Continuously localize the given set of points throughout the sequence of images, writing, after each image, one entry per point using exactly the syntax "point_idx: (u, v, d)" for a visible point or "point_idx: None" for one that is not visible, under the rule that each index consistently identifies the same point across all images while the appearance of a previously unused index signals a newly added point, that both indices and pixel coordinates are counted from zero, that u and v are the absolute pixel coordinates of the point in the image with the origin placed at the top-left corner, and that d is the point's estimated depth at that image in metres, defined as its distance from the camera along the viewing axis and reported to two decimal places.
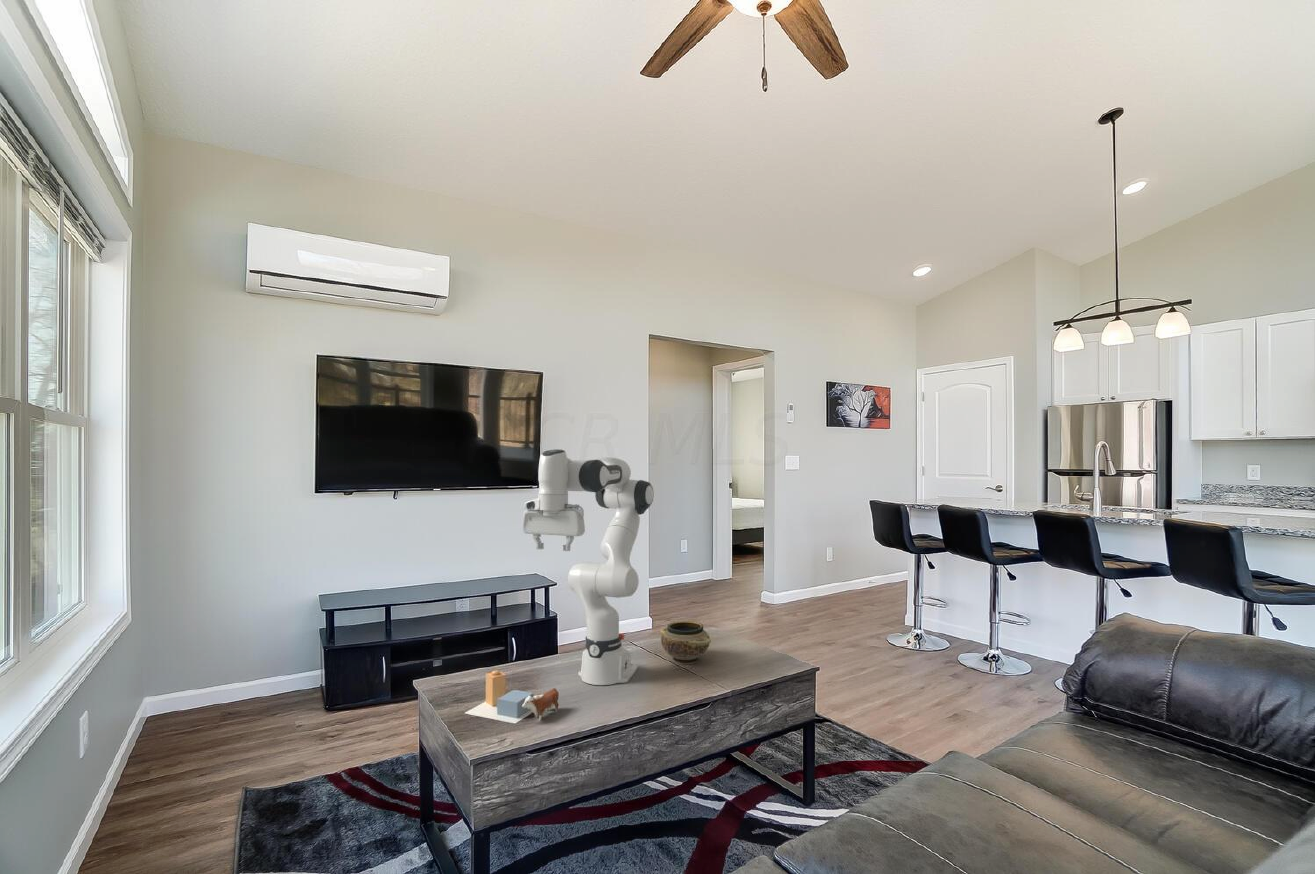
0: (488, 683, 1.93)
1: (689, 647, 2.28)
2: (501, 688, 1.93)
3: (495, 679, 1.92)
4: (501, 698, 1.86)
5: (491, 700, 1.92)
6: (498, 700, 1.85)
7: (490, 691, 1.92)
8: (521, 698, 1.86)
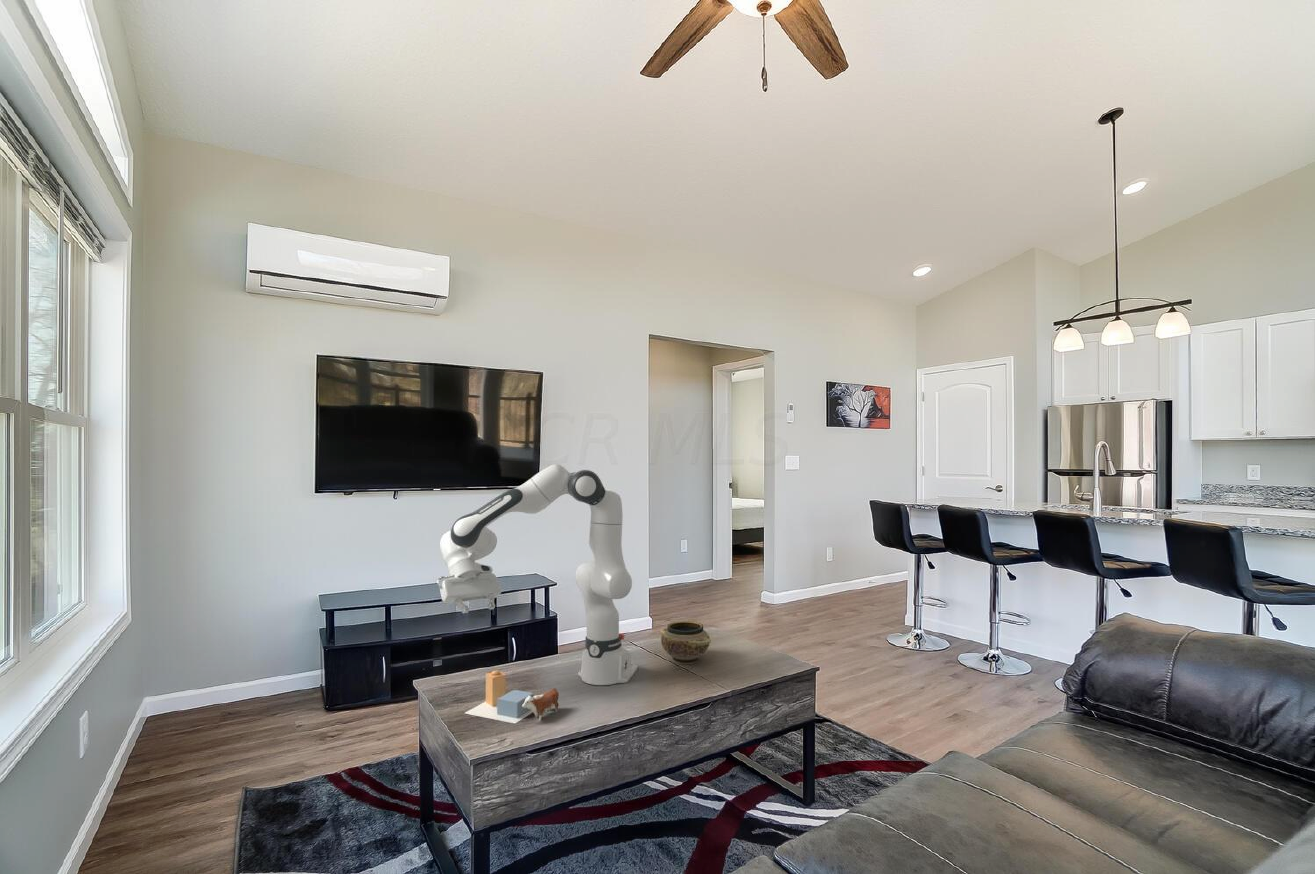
0: (488, 683, 1.93)
1: (689, 647, 2.28)
2: (501, 688, 1.93)
3: (495, 679, 1.92)
4: (501, 698, 1.86)
5: (491, 700, 1.92)
6: (498, 700, 1.85)
7: (490, 691, 1.92)
8: (521, 698, 1.86)
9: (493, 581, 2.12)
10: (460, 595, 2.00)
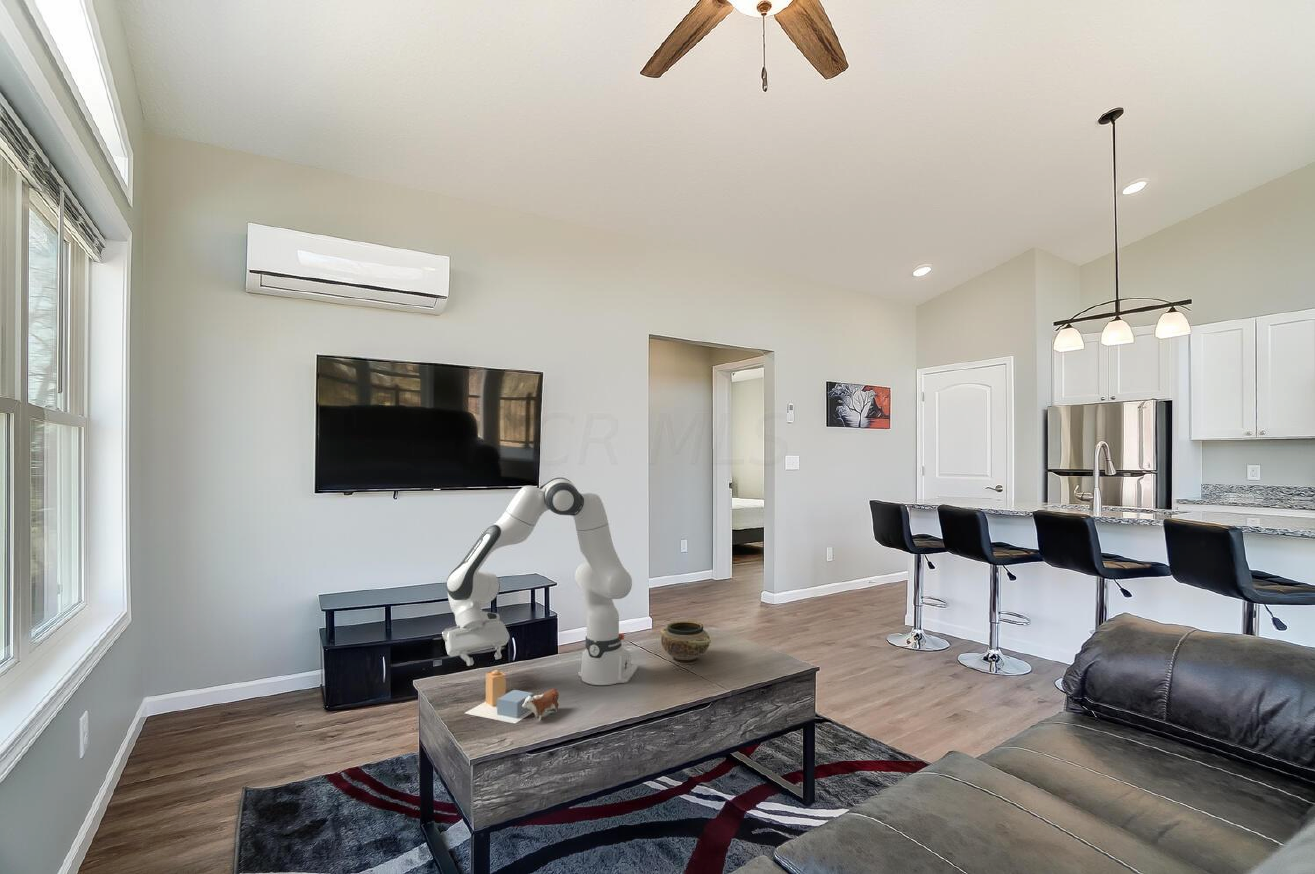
0: (488, 683, 1.93)
1: (689, 647, 2.28)
2: (501, 688, 1.93)
3: (495, 679, 1.92)
4: (501, 698, 1.86)
5: (491, 700, 1.92)
6: (498, 700, 1.85)
7: (490, 691, 1.92)
8: (521, 698, 1.86)
9: (500, 629, 2.09)
10: (464, 647, 1.98)
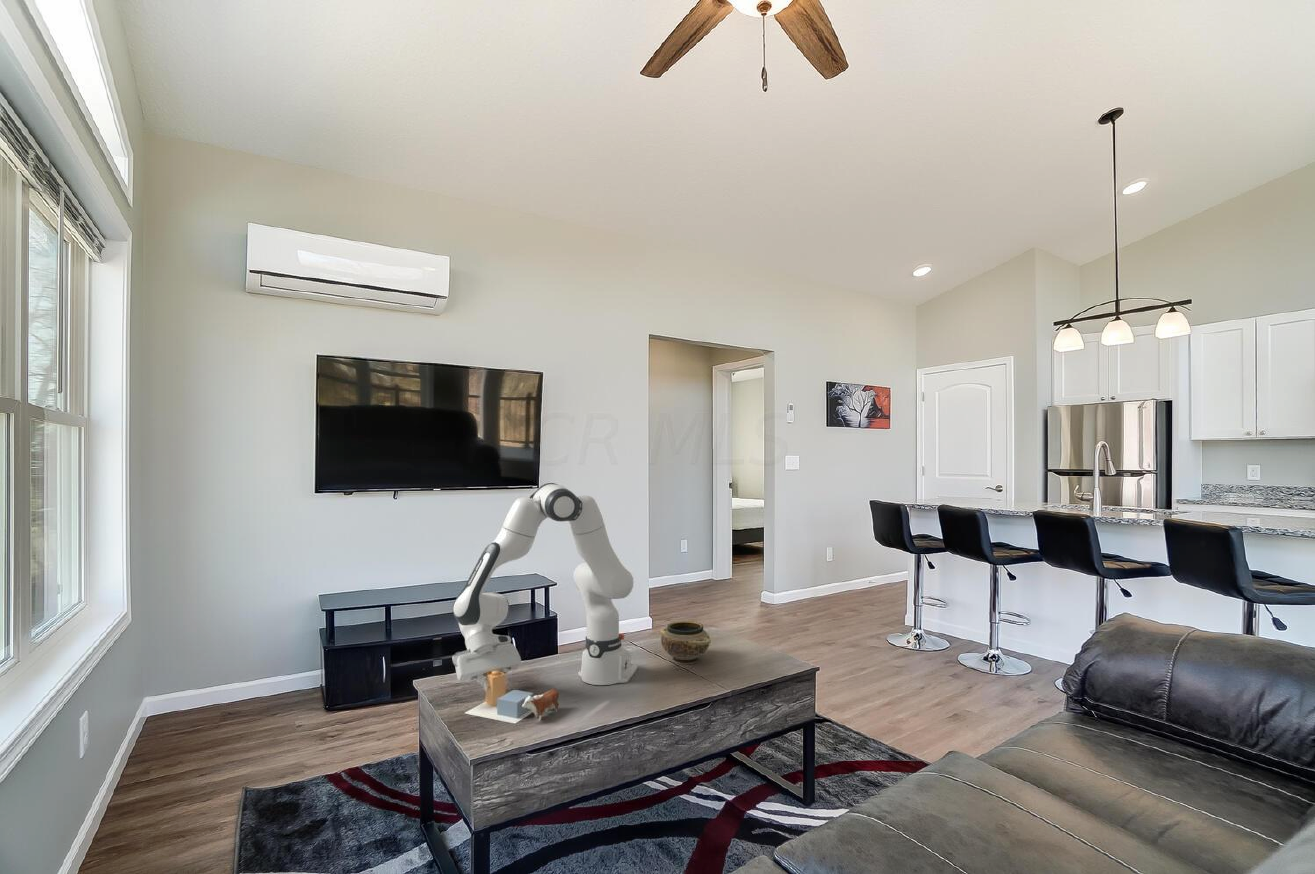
0: None
1: (689, 647, 2.28)
2: (501, 688, 1.93)
3: (495, 679, 1.92)
4: (501, 698, 1.86)
5: (491, 700, 1.92)
6: (498, 700, 1.85)
7: (490, 691, 1.92)
8: (521, 698, 1.86)
9: (512, 653, 2.03)
10: (475, 673, 1.92)
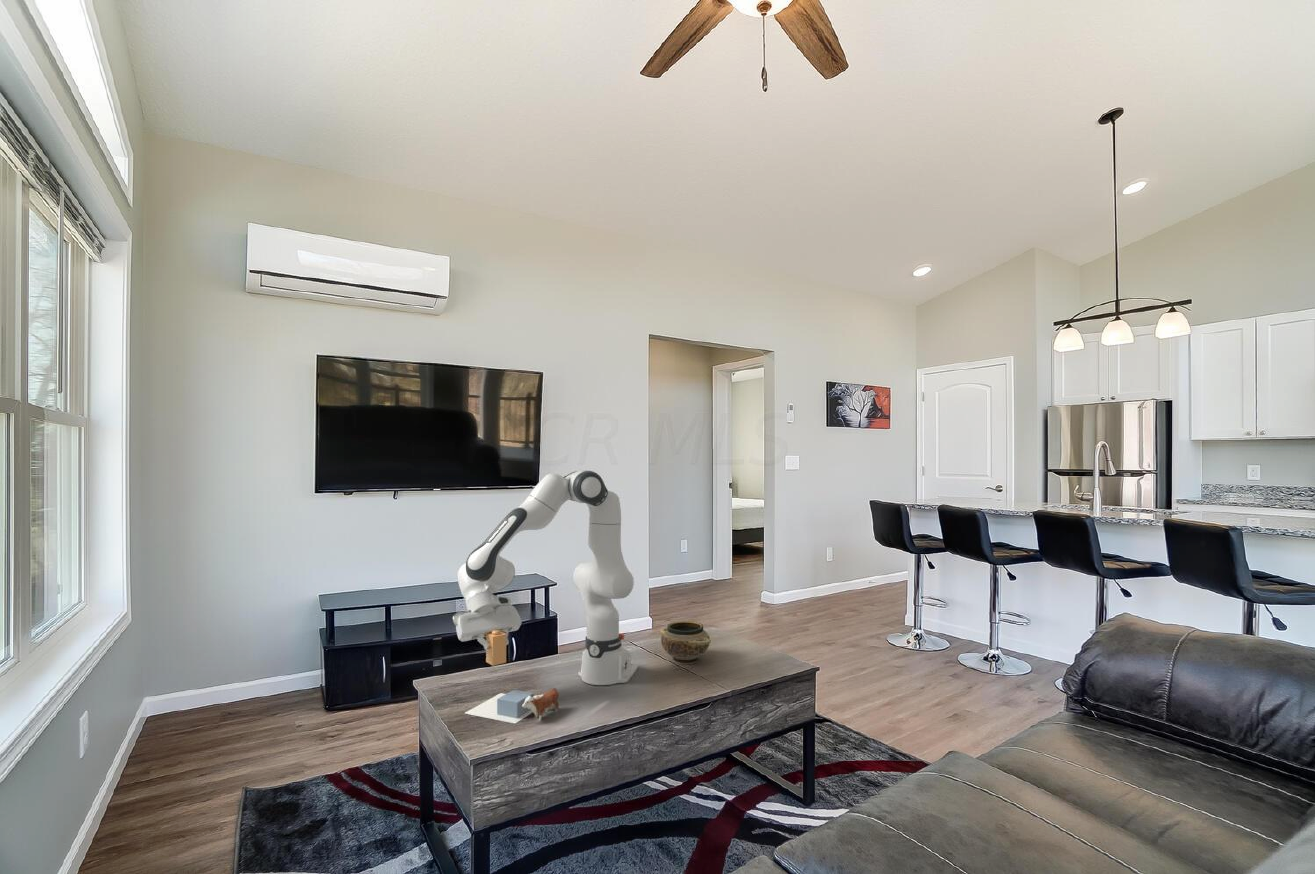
0: None
1: (689, 647, 2.28)
2: (502, 648, 1.94)
3: (495, 638, 1.92)
4: (501, 698, 1.86)
5: (492, 659, 1.92)
6: (498, 700, 1.85)
7: (490, 650, 1.93)
8: (521, 698, 1.86)
9: (512, 614, 2.03)
10: (476, 632, 1.93)
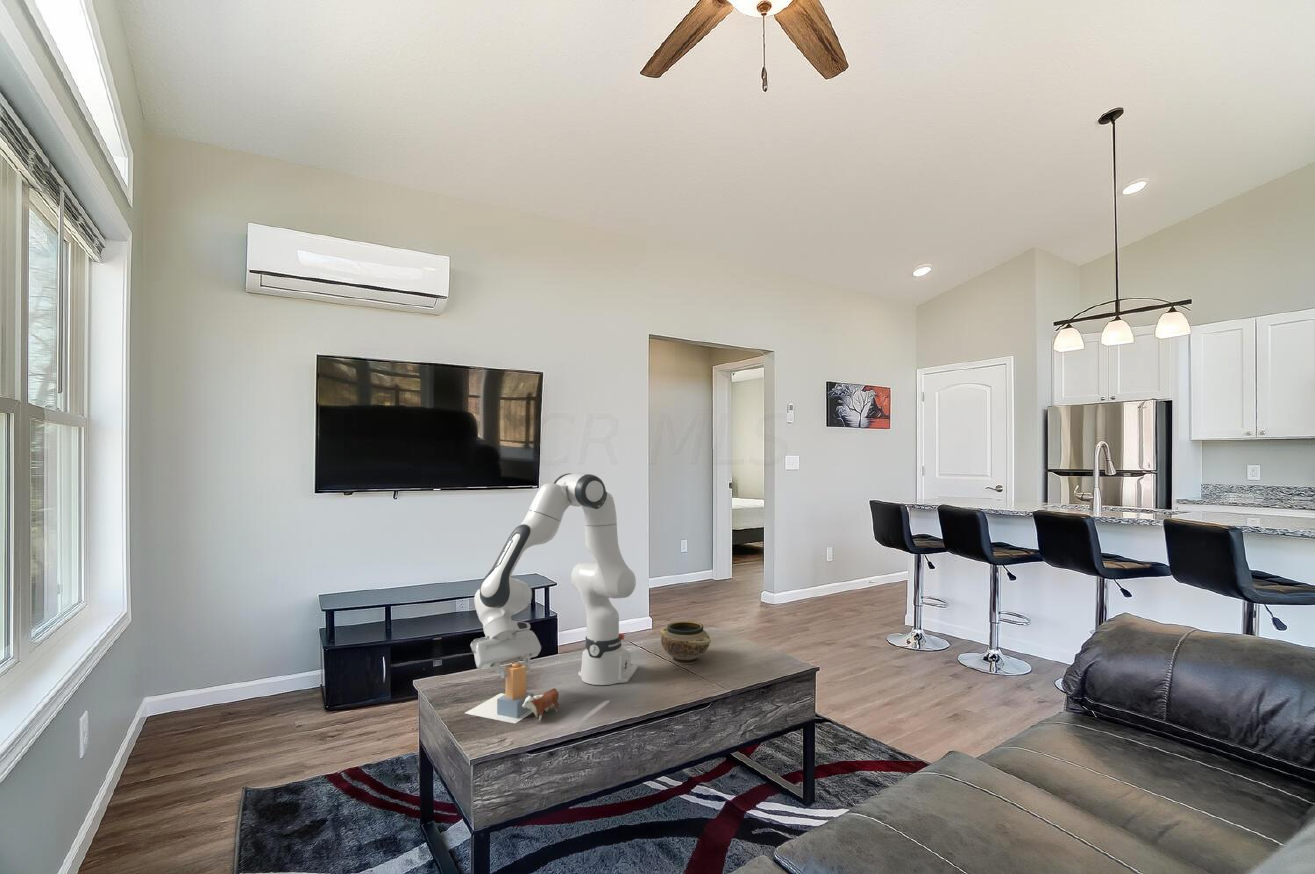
0: (508, 675, 1.87)
1: (689, 647, 2.28)
2: (522, 681, 1.87)
3: (515, 672, 1.86)
4: (501, 698, 1.86)
5: (512, 693, 1.85)
6: (498, 700, 1.85)
7: (510, 684, 1.86)
8: (521, 698, 1.86)
9: (531, 640, 1.97)
10: (495, 659, 1.86)
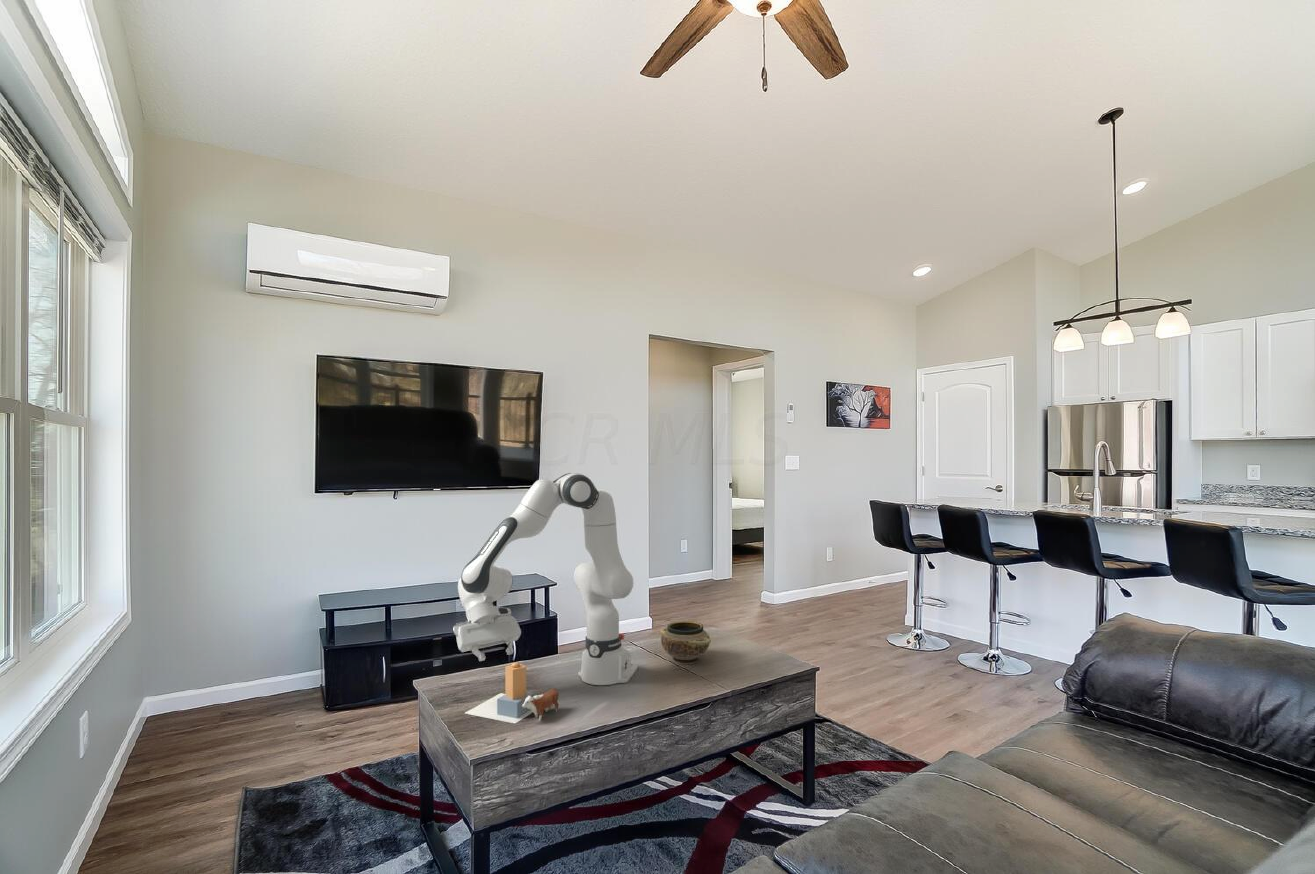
0: (508, 675, 1.87)
1: (689, 647, 2.28)
2: (522, 681, 1.87)
3: (515, 672, 1.86)
4: (501, 698, 1.86)
5: (512, 693, 1.85)
6: (498, 700, 1.85)
7: (510, 684, 1.86)
8: (521, 698, 1.86)
9: (512, 624, 2.06)
10: (476, 642, 1.95)
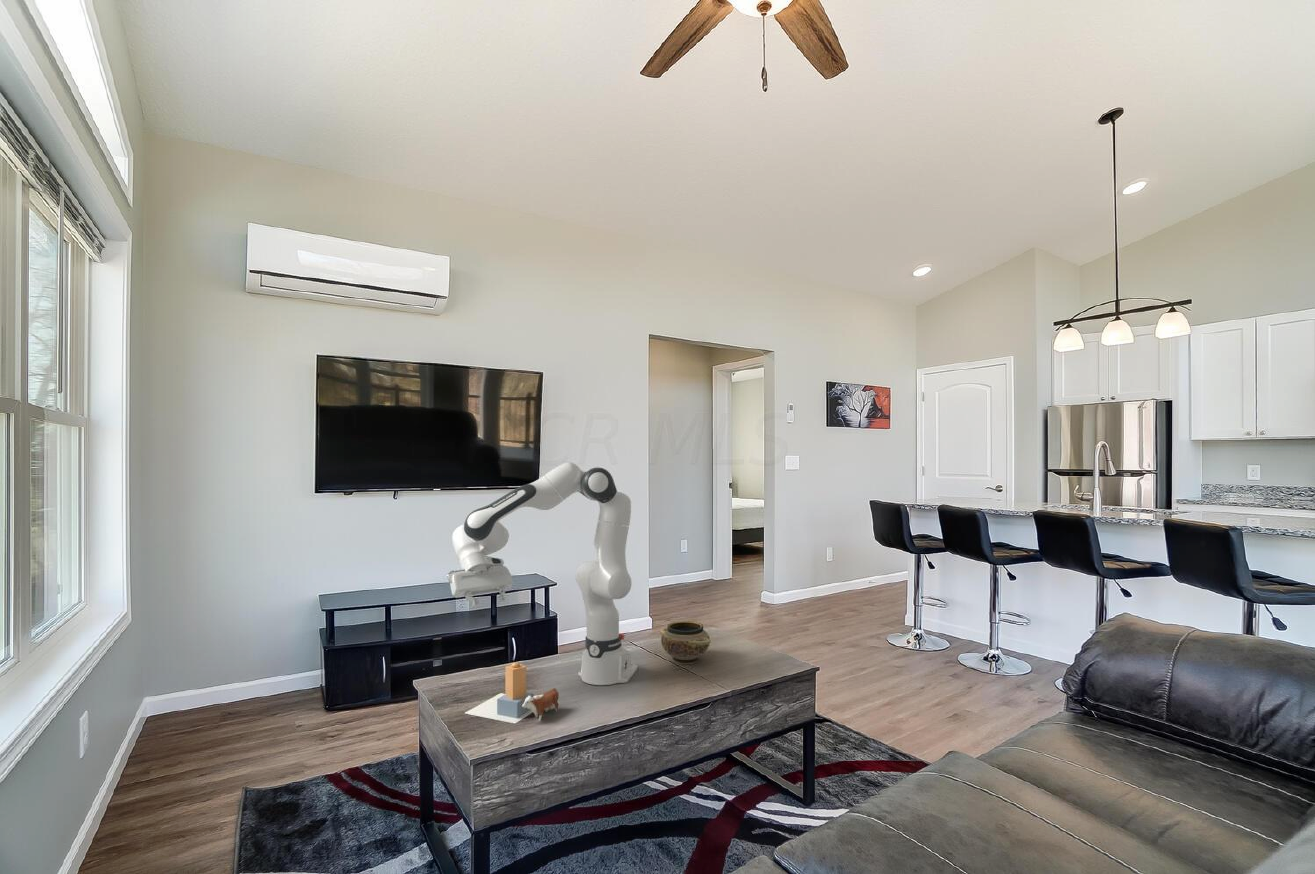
0: (508, 675, 1.87)
1: (689, 647, 2.28)
2: (522, 681, 1.87)
3: (515, 672, 1.86)
4: (501, 698, 1.86)
5: (512, 693, 1.85)
6: (498, 700, 1.85)
7: (510, 684, 1.86)
8: (521, 698, 1.86)
9: (504, 574, 2.12)
10: (469, 588, 2.01)
